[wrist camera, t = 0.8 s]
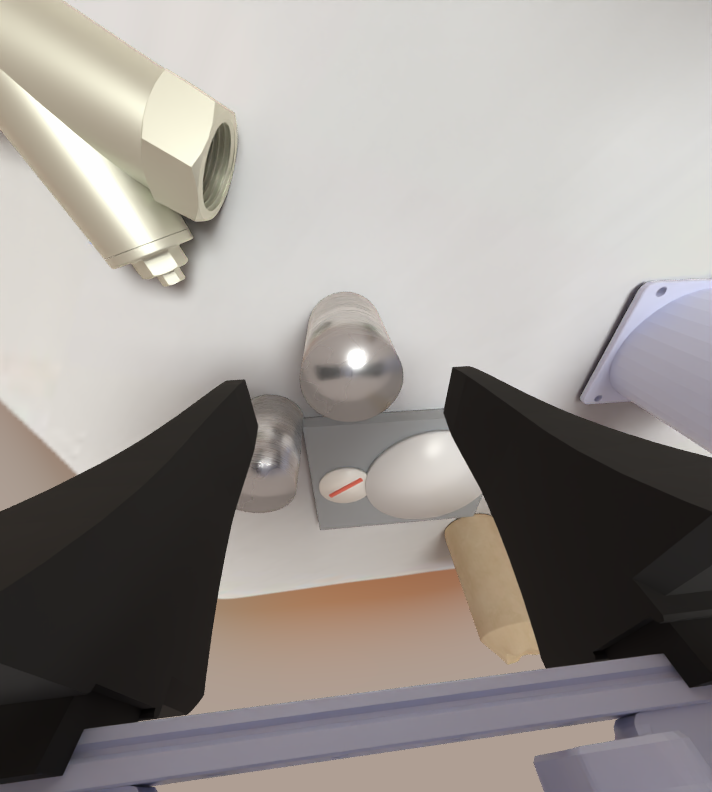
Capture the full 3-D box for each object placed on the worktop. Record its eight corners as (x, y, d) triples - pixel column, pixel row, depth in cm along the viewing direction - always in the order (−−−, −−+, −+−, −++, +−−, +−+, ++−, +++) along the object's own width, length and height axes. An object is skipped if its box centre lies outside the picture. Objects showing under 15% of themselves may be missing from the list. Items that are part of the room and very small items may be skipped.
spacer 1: (299, 392, 17) (289, 459, 13) (307, 439, 20) (301, 509, 15) (234, 396, 17) (201, 465, 13) (249, 443, 19) (226, 515, 15)
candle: (459, 547, 31) (506, 672, 23) (433, 529, 28) (476, 664, 20) (505, 527, 29) (575, 654, 21) (482, 505, 26) (552, 642, 18)
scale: (506, 404, 19) (517, 417, 18) (469, 506, 26) (475, 520, 25) (303, 417, 18) (302, 432, 17) (320, 519, 25) (319, 534, 24)
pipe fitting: (210, 284, 14) (246, 120, 10) (174, 314, 11) (208, 98, 7) (4, 189, 11) (-43, -76, 8) (-119, 194, 8) (-290, -236, 5)
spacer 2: (382, 290, 14) (407, 330, 10) (379, 359, 16) (399, 418, 12) (303, 293, 14) (292, 336, 9) (312, 363, 16) (306, 424, 12)
